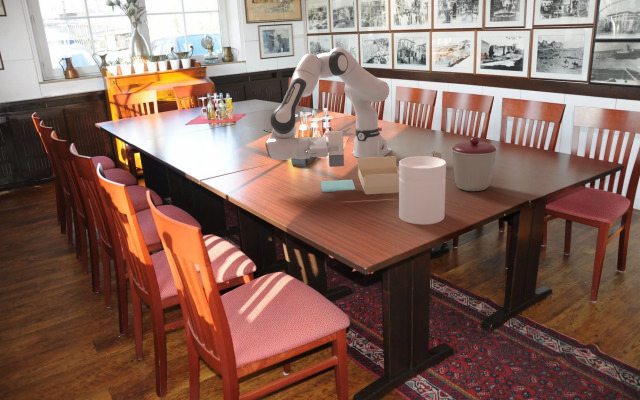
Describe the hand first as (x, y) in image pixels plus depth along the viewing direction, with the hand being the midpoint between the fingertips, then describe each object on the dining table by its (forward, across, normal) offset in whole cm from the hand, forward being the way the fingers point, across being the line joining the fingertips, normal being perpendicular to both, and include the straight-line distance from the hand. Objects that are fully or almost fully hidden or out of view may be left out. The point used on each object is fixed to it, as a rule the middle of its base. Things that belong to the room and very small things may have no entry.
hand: (338, 146), depth 218 cm
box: (-1, 0, +8) cm, 8 cm away
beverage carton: (-14, +45, +18) cm, 51 cm away
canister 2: (+54, -11, +18) cm, 58 cm away
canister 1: (+27, -40, +18) cm, 51 cm away
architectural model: (+47, +22, +18) cm, 55 cm away
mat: (-1, 0, +18) cm, 18 cm away
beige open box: (+18, 0, +18) cm, 25 cm away
